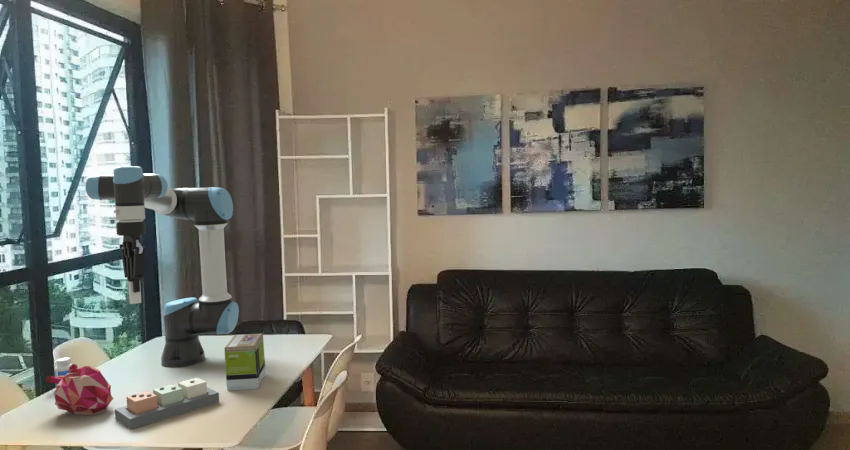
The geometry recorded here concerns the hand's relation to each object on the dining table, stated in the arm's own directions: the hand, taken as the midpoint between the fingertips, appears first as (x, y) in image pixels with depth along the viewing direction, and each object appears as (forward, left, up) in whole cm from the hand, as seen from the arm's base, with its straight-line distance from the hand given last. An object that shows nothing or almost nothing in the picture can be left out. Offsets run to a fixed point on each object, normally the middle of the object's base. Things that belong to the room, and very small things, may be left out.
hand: (135, 303), depth 173 cm
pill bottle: (-43, -8, -33) cm, 54 cm away
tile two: (+3, +6, -30) cm, 31 cm away
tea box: (-1, +34, -33) cm, 48 cm away
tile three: (+3, -1, -30) cm, 30 cm away
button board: (+3, +6, -33) cm, 34 cm away
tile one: (+3, +14, -30) cm, 33 cm away
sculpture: (-17, -11, -33) cm, 38 cm away
